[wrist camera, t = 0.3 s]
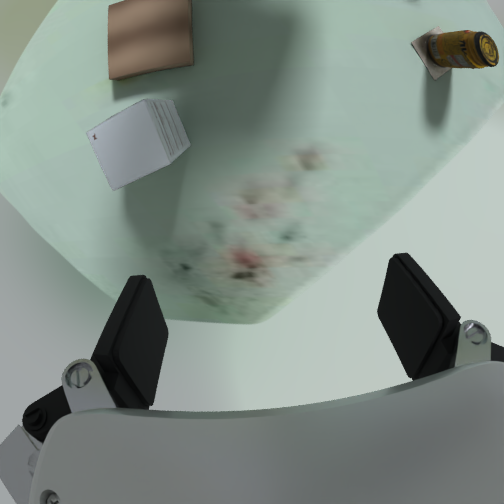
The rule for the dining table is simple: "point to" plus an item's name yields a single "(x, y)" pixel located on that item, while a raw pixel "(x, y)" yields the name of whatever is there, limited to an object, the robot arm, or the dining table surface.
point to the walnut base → (149, 36)
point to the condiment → (455, 50)
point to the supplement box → (138, 141)
